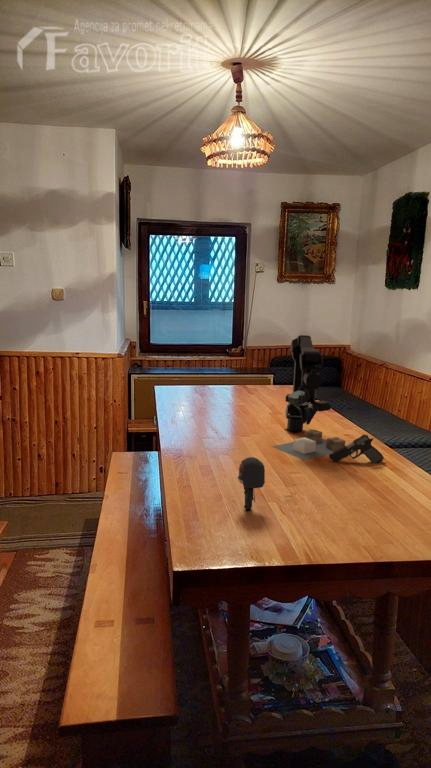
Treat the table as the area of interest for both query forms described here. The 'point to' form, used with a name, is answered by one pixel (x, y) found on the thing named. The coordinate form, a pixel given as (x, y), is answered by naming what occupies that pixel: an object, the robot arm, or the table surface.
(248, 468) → the toy
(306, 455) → the mat
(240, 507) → the table surface
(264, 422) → the table surface
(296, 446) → the plain block
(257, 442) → the table surface
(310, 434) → the pip block one
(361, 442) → the handgun
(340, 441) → the pip block two
